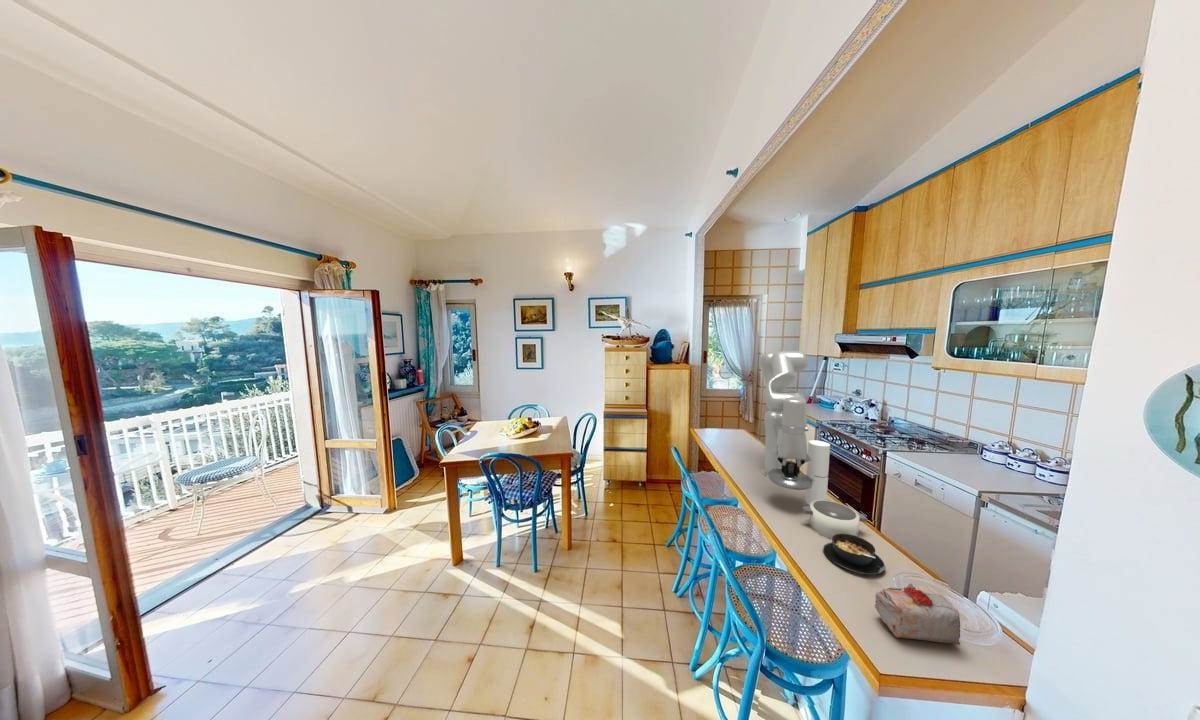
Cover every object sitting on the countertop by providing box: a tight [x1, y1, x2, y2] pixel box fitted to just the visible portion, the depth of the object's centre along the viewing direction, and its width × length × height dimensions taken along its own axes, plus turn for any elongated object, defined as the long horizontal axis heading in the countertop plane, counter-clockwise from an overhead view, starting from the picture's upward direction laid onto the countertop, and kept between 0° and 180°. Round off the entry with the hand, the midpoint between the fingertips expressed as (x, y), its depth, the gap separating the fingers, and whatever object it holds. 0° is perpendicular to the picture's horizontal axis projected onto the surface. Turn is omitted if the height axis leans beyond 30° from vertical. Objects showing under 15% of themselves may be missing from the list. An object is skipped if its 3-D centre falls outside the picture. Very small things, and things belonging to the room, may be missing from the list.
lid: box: [767, 460, 813, 491], centre depth 130 cm, size 15×15×7 cm
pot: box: [802, 500, 868, 540], centre depth 116 cm, size 14×18×7 cm
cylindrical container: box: [804, 439, 831, 505], centre depth 132 cm, size 7×7×25 cm
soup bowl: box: [822, 534, 886, 576], centre depth 100 cm, size 15×16×7 cm
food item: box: [874, 583, 961, 646], centre depth 77 cm, size 14×8×10 cm, turn 81°
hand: (790, 474), depth 130 cm, fingers closed on lid, 3 cm apart
